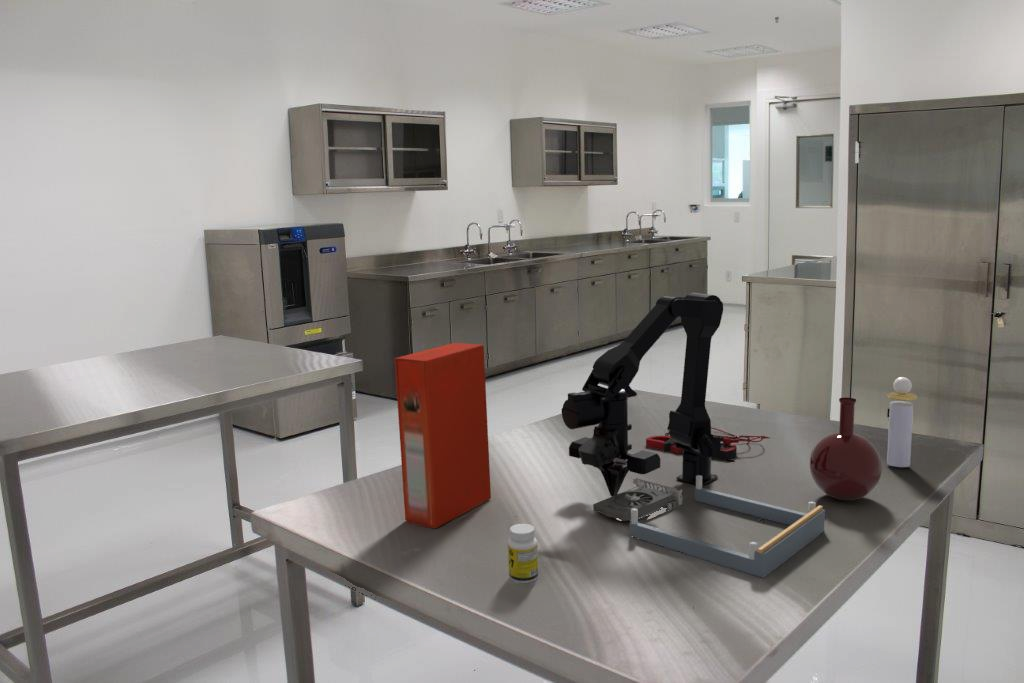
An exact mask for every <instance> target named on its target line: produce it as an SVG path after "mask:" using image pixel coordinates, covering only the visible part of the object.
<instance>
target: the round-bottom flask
mask: <svg viewBox="0 0 1024 683" xmlns="http://www.w3.org/2000/svg"><path fill="white" fill-rule="evenodd" d="M838 401H839V405H840V406H839V423H838V424H839V425H838V428H839V429H838V431H837V432H836V431H835V432H833V433H830V434H828V435H827V434H826V436H823V437H822V438H821V439H820V440H819V441H818V442H817V443H816V444H815V445H814V447H813V448H812V450H811V452H810V456H809V459H808V461H809V462H808V468H809V473H810V476H811V479H812V480H813V482H814V483H815V485H816V487H817V488H818V489H819V490H820V491H822V493H824V494H825V495H826V496H829V497H831V498H834V499H836V500H841V501H855V500H858V499H862V498H864V497H866V496H867V495H869V494H870V493H871V492H873V490H875V488H876V487H877V486H878V484H879V482H880V480H881V477H882V474H883V473H882V471H883V465H882V459H881V456H880V453H879V451H878V450H877V448H876V447H875V446H874V444H873V443H872V442H871V441H869V440H868V439H867V438H865V437H864V436H862V435H859V434H858V433H855V432H854V431H855V409H856V408H855V407H856V403H857V399H856V398H854V397H840V398H839V399H838Z"/></svg>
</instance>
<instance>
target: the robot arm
mask: <svg viewBox="0 0 1024 683" xmlns="http://www.w3.org/2000/svg"><path fill="white" fill-rule="evenodd" d="M723 313H724V303H723V301H722V300H721V299H720V297H719V296H718V295H715V294H707V293H699V292H690V293H688V294H686V295H685V296H666V295H664V296H661V297H659V298H658V299H657V300H656V302H655V305H654V306H653V307H652V308H651V309H650V311H649V312H648V313H647V314H646V315H645V316H644V318H642V320H641V321H640V322H639V323H638V324H637V325H636V326H635V328H634V329H633V330H632V331H631V332H630V333H629V334H628V336H627V337H626V338H625V339H623V341H622V342H621V343H620V344H618V345H617V346H614V347H612V348H609V349H607V350H606V351H605V352H604V353H603V354H602V355H601V356H599V357H598V358H597V359H596V360H595V361H594V363H593V365H592V370H591V372H590V374H589V375H588V378H587V379H586V381H585V383H584V385H583V386H582V388H581V390H582V391H579V392H569V393H567V399H566V400H565V401H564V403H563V405H562V407H561V417H562V420H563V423H564V424H565V426H566V427H567V429H570V430H575V429H581V428H586V427H591V426H594V429H593V435H592V437H587V436H584V437H582V438H579V439H576V440H574V441H573V440H572V441H571V442H570V444H569V447H568V456H569V457H572V458H576V459H580V460H581V464H582V465H585V466H586V465H588V466H592V467H593V468H595V469H596V468H597V469H598V470H599V471H600V472H601V475H602V477H603V479H604V482H605V484H606V485H605V486H606V487H607V490H608V492H609V493H608V494H609V496H610V497H612V496H615V495H617V494H619V491H620V489H621V487H622V485H623V483H624V480H625V478H626V477H627V475H628V473H629V472H631V473H635V474H638V475H646V474H649V473H651V472H653V471H656V470H658V469H659V468H661V457H660V456H659V454H658V453H655V452H651V451H647V450H643V449H642V450H639V451H637V452H636V453H631V452H629V451H631V450H632V448H633V445H632V444H631V443H629V440H628V439H629V438H628V437H629V431H630V430H632V423H628V422H629V419H628V418H629V417H628V415H629V413H628V412H629V411H628V405H629V404H628V403H629V401H628V399H630V398H632V397H633V398H635V397H637V395H638V392H636V391H635V390H634V389H632V387H631V386H630V385H631V383H632V382H633V380H634V378H635V377H636V375H637V374H638V372H639V370H640V365H641V364H640V363H641V361H642V359H643V357H644V356H645V355H646V354H647V353H648V352H649V351H650V349H651V348H652V347H653V346H654V345H655V344H656V342H657V341H658V340H659V339H660V338H661V336H663V334H664V333H665V332H666V331H667V329H669V328H670V326H672V324H673V323H674V322H675V320H677V318H680V322H681V325H682V327H683V330H684V333H686V342H685V351H684V362H683V363H684V365H683V374H682V375H683V376H682V383H681V384H682V385H681V394H680V395H681V397H680V404H679V405H678V406H677V408H676V409H675V411H674V410H670V411H669V413H668V418H669V420H668V425H667V427H666V428H667V429H668V430H669V431H668V430H667V431H668V433H670V434H669V436H670V437H671V438H672V439H673V441H674V444H675V447H676V448H679V449H681V450H683V453H682V466H681V467H682V473H681V474H679V475H677V476H676V480H678V481H681V482H686V483H690V484H694V485H696V476H697V475H701V476H702V486H705V485H706V484H709V483H710V482H712V481H714V480H716V479H718V475H717V474H713V473H712V458H711V457H714V456H715V455H717V454H719V452H720V449H721V443H722V442H721V441H720V442H719V441H718V440H717V439H716V438H715V437H714V436H713V435H714V434H713V435H712V429H711V427H712V425H711V424H712V423H711V422H712V421H711V419H710V416H709V413H708V410H707V408H706V399H707V398H706V396H707V395H706V394H707V386H708V385H707V384H708V375H709V366H710V365H709V364H710V355H711V343H712V338H713V336H714V335H715V333H716V332H717V330H718V329H719V328H720V326H721V323H722V318H723ZM599 384H600V385H599ZM601 385H602V386H601ZM604 386H605V387H604Z"/></svg>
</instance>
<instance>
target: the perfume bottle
mask: <svg viewBox="0 0 1024 683" xmlns="http://www.w3.org/2000/svg"><path fill="white" fill-rule="evenodd" d="M892 387H893V391H890V392H887V394H886V396H887V398H888V399H891V400H894V401H891V402H889V408H887V414H886V418H887V420H888V432H887V433H888V434H887V435H888V436H887V449H886V450H887V453H886V454H887V455H886V464H887V465H888V466H892V467H895V468H896V467H897V468H908V467H910V466H911V453H912V436H913V435H912V434H913V418H914V417H913V416H914V403H912V402H910V401H916V400H917V399H918V395H917V394H916V393H913V392H911V390H912V388H913V383H912V380H910V379H909V378H908V377H904V376H900V377H897V378H896V379H895V380H894V381H893V384H892Z"/></svg>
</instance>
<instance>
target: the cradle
mask: <svg viewBox="0 0 1024 683" xmlns="http://www.w3.org/2000/svg"><path fill="white" fill-rule="evenodd" d="M694 501H696V502H699V503H702V504H707V505H710V506H714V507H718V508H721V509H727V510H731V511H734V512H737V513H742V514H746V515H749V516H753V517H758V518H761V519H765V520H770V521H773V522H776V523H780V524H785V525H788V527H787V528H785V529H783V530H782V531H781V532H779V533H778V534H776V536H774V537H772V538H771V539H770V540H768V541H767V542H765V543H764V544H762V545H761V546H760V547H758V542H755V541H749V549H748V550H749V553H748V554H746V553H744V552H739V551H736V550H733V549H730V548H727V547H723V546H719V545H716V544H713V543H709V542H706V541H702V540H699V539H696V538H692V537H689V536H685V535H682V534H678V533H675V532H673V531H668V530H665V529H661V528H659V527H658V528H657V527H655V526H651V525H648V524H644V523H643V522H642V523H641V522H639V520H638V509H635V508H633V509H631V521H630V522H629V537H630V536H633V537H636V538H635V539H637V538H639V539H638V540H640V539H642V540H641V541H643V540H645V541H644V542H646V541H648V542H647V543H650V542H651V543H650V544H653V545H656V544H657V546H659V545H661V546H660V547H662V546H664V547H663V548H666V549H669V548H670V549H669V550H672V549H673V550H672V551H675V550H676V552H678V551H680V552H679V553H682V552H683V553H682V554H685V553H686V554H685V555H688V554H689V556H691V555H692V557H694V556H695V557H694V558H698V559H701V560H704V561H707V560H708V561H707V562H710V561H711V563H714V564H717V565H721V566H722V567H726V566H727V567H726V568H730V569H733V570H737V571H740V572H743V573H746V574H749V575H752V576H755V577H759V578H762V579H764V578H766V576H768V575H769V574H771V573H772V572H773V571H775V570H776V569H777V568H779V567H780V566H781V565H782V564H784V563H785V562H787V560H789V559H790V558H791V557H793V556H794V555H795V554H797V553H798V552H799V551H801V550H802V549H803V548H805V547H806V546H807V545H809V543H811V542H812V541H813V540H814V539H816V538H817V537H818V536H820V535H822V533H824V532H825V524H826V523H825V518H826V516H825V515H826V510H825V509H824V508H823V505H820V504H819V505H818V506H816V504H817V503H816V502H815V501H808V509H807V510H808V511H807V512H803V511H797V510H793V509H791V508H786V507H781V506H777V505H773V504H770V503H766V502H761V501H758V500H754V499H749V498H746V497H741V496H737V495H733V494H728V493H724V492H721V491H716V490H713V489H710V488H704V487H703V485H702V476H701V475H697V476H696V484H695V487H694ZM633 537H632V538H633Z"/></svg>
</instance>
